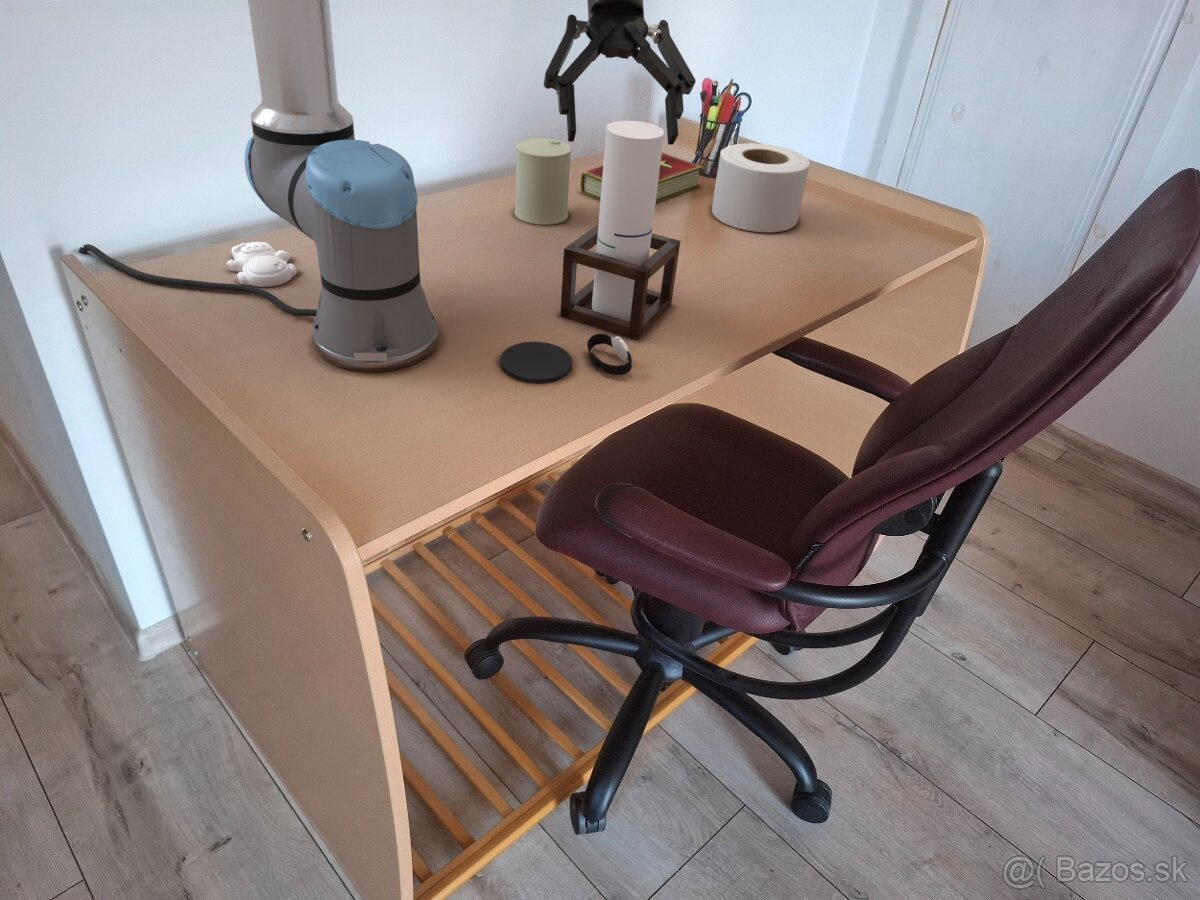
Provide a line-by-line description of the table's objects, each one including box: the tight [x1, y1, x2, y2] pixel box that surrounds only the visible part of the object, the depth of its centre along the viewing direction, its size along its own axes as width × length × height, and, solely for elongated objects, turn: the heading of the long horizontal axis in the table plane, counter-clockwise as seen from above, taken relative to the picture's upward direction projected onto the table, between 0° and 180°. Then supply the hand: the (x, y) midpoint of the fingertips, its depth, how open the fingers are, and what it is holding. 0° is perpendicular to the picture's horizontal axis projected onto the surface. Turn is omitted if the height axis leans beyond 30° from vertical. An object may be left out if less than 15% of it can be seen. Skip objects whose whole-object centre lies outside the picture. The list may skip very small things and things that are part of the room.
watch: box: [586, 332, 633, 376], centre depth 105 cm, size 8×5×4 cm, turn 33°
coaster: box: [499, 341, 573, 384], centre depth 105 cm, size 9×9×1 cm
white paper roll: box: [711, 142, 811, 233], centre depth 147 cm, size 16×15×11 cm
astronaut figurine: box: [226, 241, 298, 288], centre depth 118 cm, size 9×12×3 cm
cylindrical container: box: [591, 120, 665, 322], centre depth 110 cm, size 7×7×25 cm
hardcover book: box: [579, 151, 704, 204], centre depth 155 cm, size 12×21×4 cm, turn 139°
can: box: [514, 137, 573, 226], centre depth 140 cm, size 9×9×12 cm
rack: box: [559, 223, 681, 341], centre depth 115 cm, size 12×12×10 cm
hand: (623, 138), depth 110 cm, fingers open, 13 cm apart
